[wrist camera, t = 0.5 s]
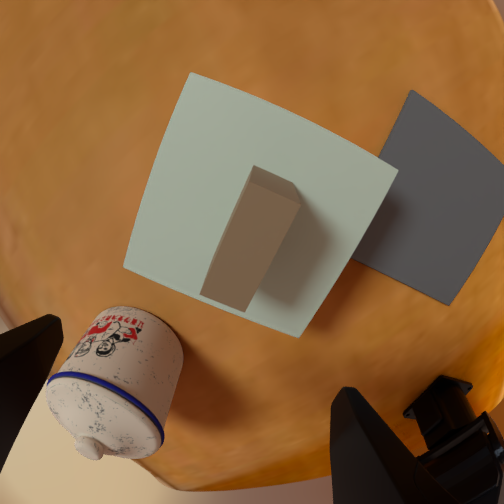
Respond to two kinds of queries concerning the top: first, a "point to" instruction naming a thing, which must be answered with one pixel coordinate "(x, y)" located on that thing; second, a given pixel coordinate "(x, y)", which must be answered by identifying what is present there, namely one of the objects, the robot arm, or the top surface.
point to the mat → (433, 203)
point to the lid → (253, 206)
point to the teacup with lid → (118, 385)
